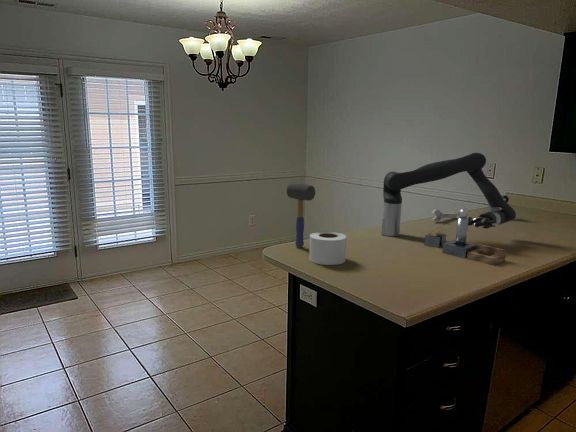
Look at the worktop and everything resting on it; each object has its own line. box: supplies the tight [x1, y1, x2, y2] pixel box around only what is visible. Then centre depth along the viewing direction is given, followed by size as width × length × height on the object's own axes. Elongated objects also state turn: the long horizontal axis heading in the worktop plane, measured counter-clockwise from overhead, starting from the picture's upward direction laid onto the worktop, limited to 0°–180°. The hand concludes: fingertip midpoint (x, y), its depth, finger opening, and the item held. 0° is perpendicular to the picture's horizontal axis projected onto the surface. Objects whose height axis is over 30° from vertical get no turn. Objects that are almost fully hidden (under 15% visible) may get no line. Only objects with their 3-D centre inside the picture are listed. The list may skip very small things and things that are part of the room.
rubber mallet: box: [286, 182, 316, 248], centre depth 202 cm, size 12×8×30 cm, turn 50°
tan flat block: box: [430, 225, 447, 237], centre depth 215 cm, size 12×3×8 cm, turn 140°
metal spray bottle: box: [455, 208, 469, 246], centre depth 197 cm, size 4×4×18 cm
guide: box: [424, 232, 447, 249], centre depth 213 cm, size 9×7×5 cm
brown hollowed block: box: [466, 243, 507, 266], centre depth 190 cm, size 12×10×5 cm
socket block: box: [441, 239, 478, 259], centre depth 199 cm, size 11×11×4 cm
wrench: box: [431, 208, 460, 223], centre depth 270 cm, size 8×2×30 cm
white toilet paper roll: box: [309, 231, 348, 266], centre depth 185 cm, size 16×15×11 cm
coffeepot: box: [485, 194, 510, 213], centre depth 278 cm, size 15×9×18 cm, turn 37°
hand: (472, 224), depth 203 cm, fingers open, 3 cm apart
